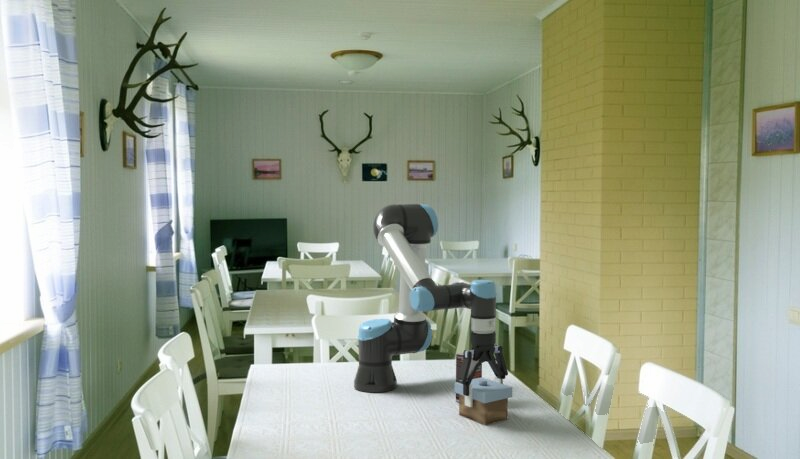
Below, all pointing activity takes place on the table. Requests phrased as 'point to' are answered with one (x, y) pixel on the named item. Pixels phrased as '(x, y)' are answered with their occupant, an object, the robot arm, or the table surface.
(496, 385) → the lid
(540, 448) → the table surface
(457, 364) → the supplement box
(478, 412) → the box
